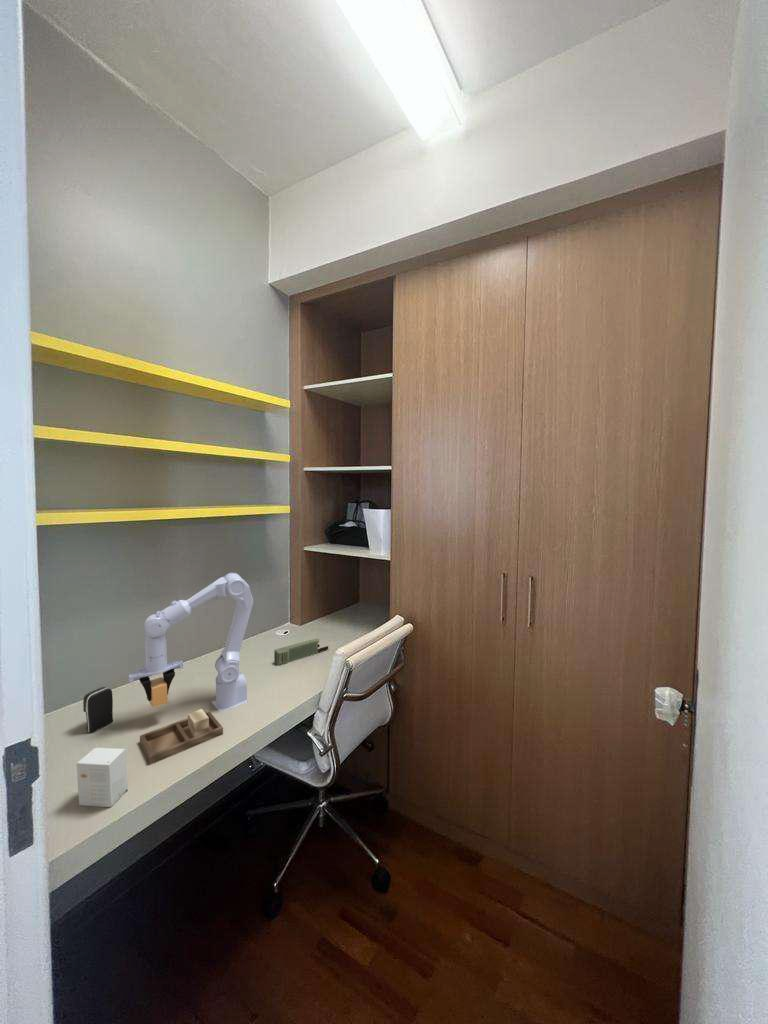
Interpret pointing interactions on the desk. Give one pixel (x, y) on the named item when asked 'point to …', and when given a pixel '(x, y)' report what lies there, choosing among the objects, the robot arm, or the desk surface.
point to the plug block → (158, 692)
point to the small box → (102, 777)
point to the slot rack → (176, 739)
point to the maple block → (198, 723)
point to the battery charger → (98, 708)
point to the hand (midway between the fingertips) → (157, 696)
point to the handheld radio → (297, 651)
